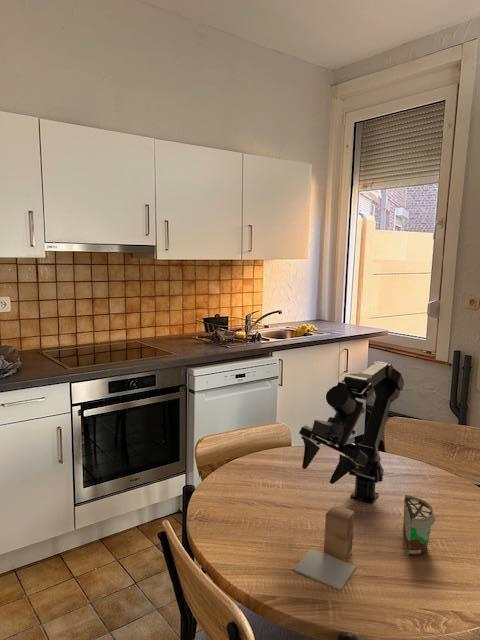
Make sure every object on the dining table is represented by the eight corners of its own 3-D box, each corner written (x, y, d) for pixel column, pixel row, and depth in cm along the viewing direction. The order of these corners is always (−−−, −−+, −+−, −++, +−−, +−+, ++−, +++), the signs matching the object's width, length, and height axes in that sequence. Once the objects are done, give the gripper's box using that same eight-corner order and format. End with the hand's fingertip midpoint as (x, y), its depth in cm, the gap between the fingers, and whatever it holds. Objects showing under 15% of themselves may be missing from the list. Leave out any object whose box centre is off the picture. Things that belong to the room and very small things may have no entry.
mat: (311, 550, 112) (311, 548, 112) (355, 568, 106) (356, 566, 106) (293, 570, 104) (293, 568, 104) (340, 590, 98) (340, 588, 98)
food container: (437, 564, 108) (440, 523, 107) (409, 560, 109) (412, 519, 108) (427, 533, 120) (430, 496, 119) (401, 530, 121) (404, 493, 120)
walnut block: (332, 543, 115) (334, 504, 113) (351, 551, 112) (354, 511, 111) (323, 553, 110) (325, 513, 109) (344, 561, 108) (346, 520, 106)
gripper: (302, 397, 124) (273, 450, 121) (360, 419, 110) (329, 480, 106) (323, 414, 131) (296, 465, 127) (380, 437, 117) (352, 496, 113)
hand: (316, 475), depth 118 cm, fingers open, 9 cm apart
